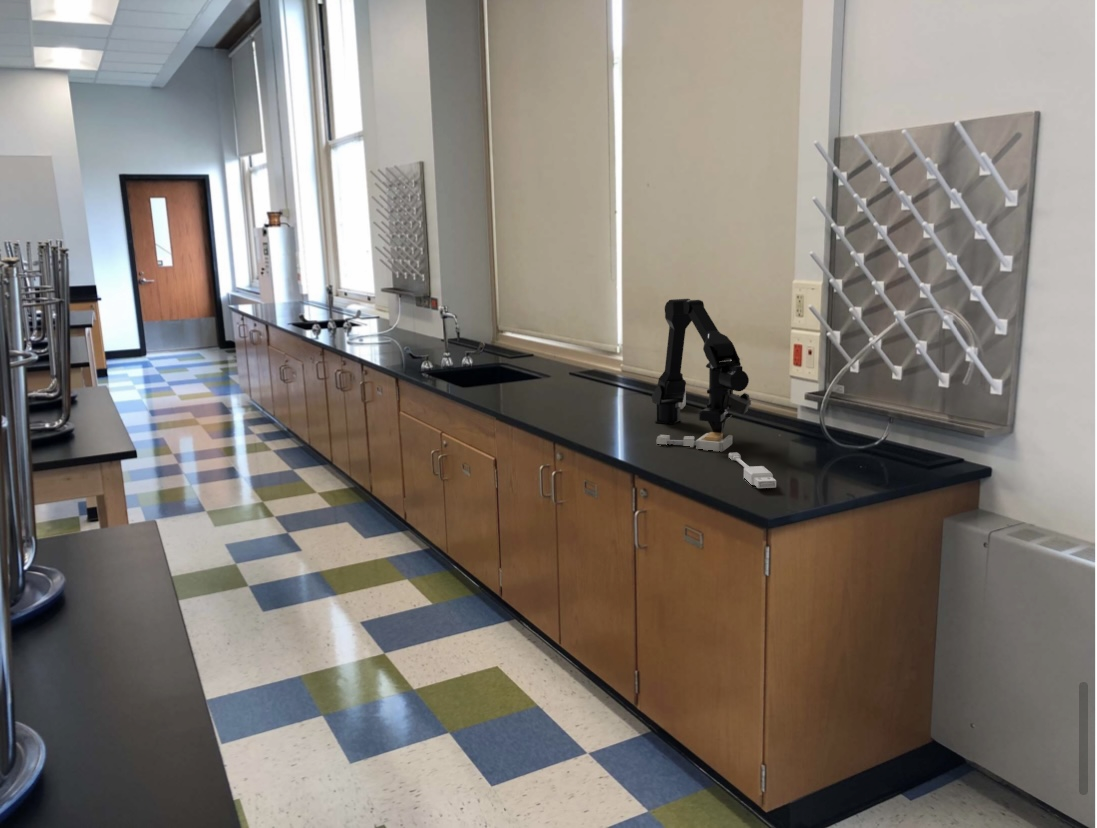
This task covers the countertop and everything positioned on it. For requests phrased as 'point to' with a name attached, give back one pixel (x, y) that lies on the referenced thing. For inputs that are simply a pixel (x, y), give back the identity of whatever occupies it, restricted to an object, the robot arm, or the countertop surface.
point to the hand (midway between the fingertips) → (718, 439)
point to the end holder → (713, 443)
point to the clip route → (666, 440)
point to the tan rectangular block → (714, 436)
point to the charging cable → (755, 473)
